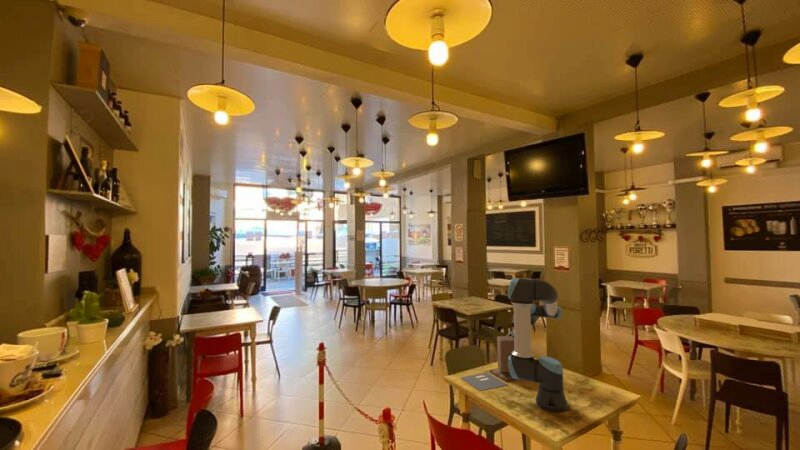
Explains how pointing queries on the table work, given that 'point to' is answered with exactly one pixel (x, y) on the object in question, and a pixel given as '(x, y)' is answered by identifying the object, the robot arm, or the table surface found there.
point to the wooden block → (504, 351)
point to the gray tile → (483, 381)
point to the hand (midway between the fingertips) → (505, 355)
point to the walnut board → (502, 375)
